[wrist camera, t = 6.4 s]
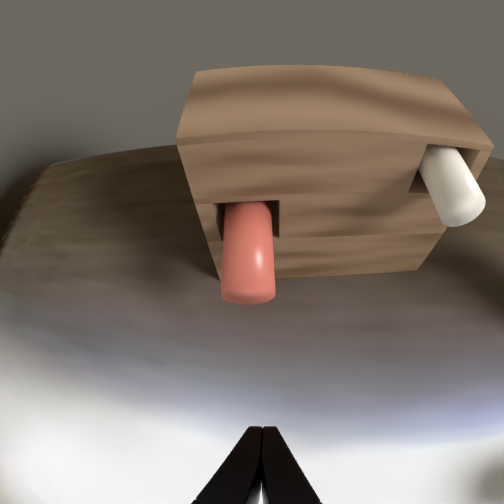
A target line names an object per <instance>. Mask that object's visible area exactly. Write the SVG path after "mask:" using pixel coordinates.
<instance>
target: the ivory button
mask: <svg viewBox="0 0 504 504" xmlns="http://www.w3.org/2000/svg"><path fill="white" fill-rule="evenodd" d="M418 170H419V172H420V174H421V176H422V178H423V180H424V182H425V185H426V187H427V189H428V191H429V193H430V196H431V198H432V200H433V202H434V205H435V207H436V210H437V212H438V214H439V217H440V219H441V221H442V223H443V224H444V225H446V226H450V227H456V226H461V225H464V224H466V223H468V222H470V221H472V220H473V219H475V218H476V217H477V216H478V215H479V214H480V213H481V212H482V210H483V209H484V207H485V197H484V195H483V194H482V192H481V190H480V188H479V186H478V184H477V182H476V181H475V179H474V177H473V175H472V174H471V172H470V170H469V168H468V167H467V165H466V163H465V162H464V160H463V158H462V157H461V155H460V154H459V152H458V150H457V149H456V147H454V146H446V145H437V144H427V146H426V149H425V151H424V154H423V157H422V159H421V162H420V164H419V167H418Z"/></svg>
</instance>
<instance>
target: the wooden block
mask: <svg viewBox="0 0 504 504" xmlns="http://www.w3.org/2000/svg"><path fill="white" fill-rule="evenodd" d="M175 140H176V143H177V147H178V150H179V154H180V157H181V160H182V164H183V167H184V170H185V173H186V177H187V180H188V183H189V186H190V190H191V193H192V196H193V199H194V202H195V206H196V209H197V212H198V215H199V218H200V221H201V224H202V227H203V231H204V234H205V237H206V240H207V243H208V246H209V249H210V252H211V255H212V258H213V261H214V264H215V267H216V270H217V273H218V275H219V278H220V281H221V280H222V258H223V237H224V218H225V203H227V202H245V201H265V200H270V202H271V218H272V236H273V254H274V273H275V279H281V278H302V277H322V276H340V275H357V274H373V273H388V272H403V271H416V270H418V268H419V267H420V266H421V264H422V263H423V262H424V260H425V259H426V257H427V256H428V255H429V253H430V252H431V250H432V249H433V248H434V246H435V245H436V243H437V242H438V240H439V239H440V237H441V236H442V234H443V233H444V231H445V230H446V228H447V227H448V226H446V225H444V224H443V223H442V221H441V219H440V217H439V214H438V212H437V210H436V207H435V205H434V202H433V200H432V198H431V196H430V193H429V191H428V189H427V187H426V185H425V182H424V180H423V178H422V176H421V174H420V172H419V170H418V167H419V164H420V162H421V159H422V157H423V154H424V151H425V149H426V146H427V144H437V145H446V146H454V147H456V149H457V150H458V152H459V154H460V155H461V157H462V158H463V160H464V162H465V163H466V165H467V167H468V168H469V170H470V172H471V174H472V175H473V177H474V179H475V181H476V179H477V178H478V176H479V174H480V172H481V170H482V169H483V167H484V165H485V163H486V161H487V159H488V157H489V155H490V154H491V152H492V149H493V148H494V145H493V144H492V142H491V141H490V140H489V138H488V137H487V135H486V134H485V133H484V132H483V130H482V129H481V128H480V126H479V125H478V124H477V122H476V121H475V120H474V119H473V117H472V116H471V115H470V114H469V112H468V111H467V110H466V109H465V108H464V107H463V105H462V104H461V103H460V102H459V101H458V99H456V97H455V96H454V95H453V94H452V93H451V92H450V90H448V88H447V87H446V86H445V85H444V84H443V83H442V82H441V81H440V80H438V79H433V78H428V77H423V76H417V75H411V74H405V73H398V72H392V71H384V70H375V69H365V68H355V67H341V66H321V65H272V66H271V65H270V66H249V67H235V68H224V69H214V70H206V71H198V72H196V74H195V77H194V80H193V83H192V86H191V89H190V92H189V95H188V98H187V101H186V104H185V107H184V111H183V114H182V117H181V120H180V124H179V127H178V131H177V134H176V138H175Z"/></svg>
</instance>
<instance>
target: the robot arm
mask: <svg viewBox="0 0 504 504" xmlns="http://www.w3.org/2000/svg"><path fill="white" fill-rule="evenodd" d="M261 483H262V497H263V504H322V502H320V499H319V498H318V496H317V494H316V493H315V491H314V490H313V488H312V486H311V485H310V483H309V481H308V480H307V478H306V477H305V475H304V473H303V472H302V470H301V468H300V467H299V465H298V463H297V461H296V460H295V458H294V456H293V455H292V453H291V451H290V449H289V448H288V446H287V444H286V443H285V441H284V439H283V437H282V436H281V434H280V432H279V430H278V428H277V427H275V426H265V427H263V429H262V427H260V426H250V427H248V428H247V430H246V431H245V433H244V434H243V436H242V437H241V438H240V440H239V441H238V443H237V444H236V445H235V447H234V448H233V450H232V451H231V452H230V454H229V455H228V457H227V458H226V459H225V461H224V462H223V463H222V465H221V466H220V467H219V469H218V470H217V471H216V473H215V474H214V475H213V477H212V478H211V479H210V481H209V482H208V483H207V484H206V486H205V487H204V488H203V490H202V491H201V492H200V493H199V495H198V496H197V497H196V500H194V501H193V502H192V503H191V504H258V502H259V497H260V492H261Z"/></svg>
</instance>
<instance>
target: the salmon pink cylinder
mask: <svg viewBox="0 0 504 504" xmlns="http://www.w3.org/2000/svg"><path fill="white" fill-rule="evenodd" d="M221 296H222V297H223V299H225V300H226V301H228V302H231V303H234V304H240V305H256V304H262V303H265V302H268V301H270V300H271V299H273V298H274V297H275V273H274V254H273V236H272V218H271V202H270V200H265V201H245V202H227V203H225V218H224V237H223V258H222V280H221Z"/></svg>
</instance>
